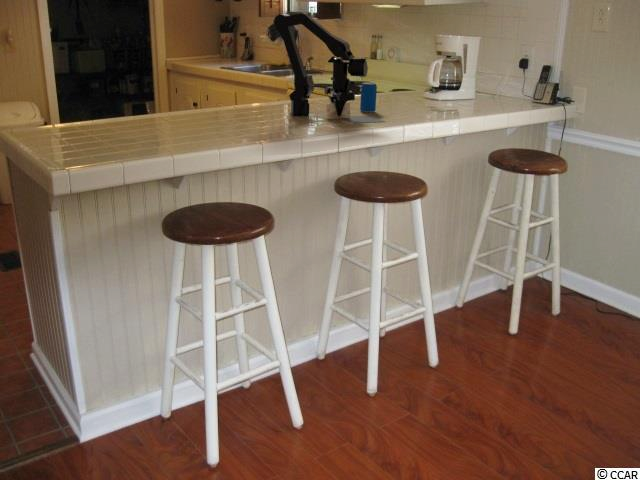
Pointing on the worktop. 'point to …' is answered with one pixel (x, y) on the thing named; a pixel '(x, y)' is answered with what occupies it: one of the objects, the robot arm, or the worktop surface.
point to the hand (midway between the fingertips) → (338, 115)
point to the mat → (364, 119)
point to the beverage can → (368, 97)
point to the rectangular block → (333, 113)
